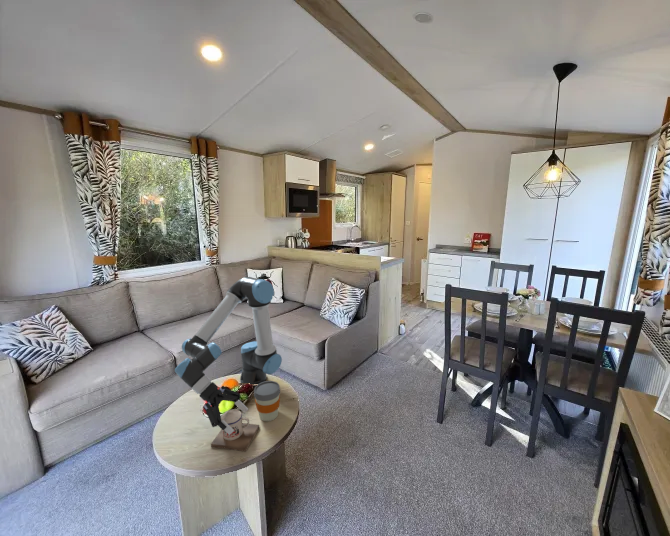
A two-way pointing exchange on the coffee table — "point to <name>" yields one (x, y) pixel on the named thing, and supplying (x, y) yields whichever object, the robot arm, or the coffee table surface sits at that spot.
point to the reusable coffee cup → (267, 399)
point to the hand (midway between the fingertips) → (239, 421)
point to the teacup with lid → (234, 424)
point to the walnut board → (238, 443)
